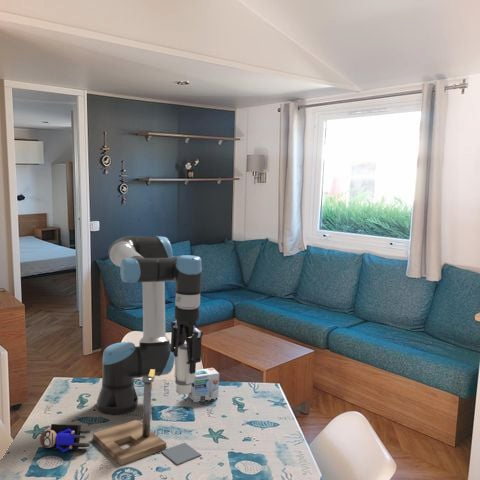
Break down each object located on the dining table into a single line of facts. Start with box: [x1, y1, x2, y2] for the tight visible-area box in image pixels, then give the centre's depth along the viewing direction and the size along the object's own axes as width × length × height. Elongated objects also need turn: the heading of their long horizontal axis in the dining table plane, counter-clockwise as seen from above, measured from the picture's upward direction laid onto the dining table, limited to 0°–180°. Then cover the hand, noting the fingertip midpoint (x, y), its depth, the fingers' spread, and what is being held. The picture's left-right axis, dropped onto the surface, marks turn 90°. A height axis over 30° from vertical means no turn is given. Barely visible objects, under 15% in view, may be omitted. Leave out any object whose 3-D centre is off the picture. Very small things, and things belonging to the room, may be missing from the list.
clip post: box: [141, 376, 155, 438], centre depth 159 cm, size 4×4×20 cm
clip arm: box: [149, 369, 156, 390], centre depth 167 cm, size 2×13×3 cm, turn 4°
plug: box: [174, 343, 192, 395], centre depth 151 cm, size 5×5×15 cm
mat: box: [160, 442, 202, 466], centre depth 154 cm, size 9×9×1 cm
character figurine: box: [39, 423, 91, 454], centre depth 153 cm, size 8×7×15 cm
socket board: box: [92, 419, 167, 466], centre depth 158 cm, size 19×16×2 cm
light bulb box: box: [188, 367, 220, 403], centre depth 196 cm, size 11×7×11 cm, turn 118°
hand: (184, 379), depth 151 cm, fingers closed on plug, 5 cm apart
